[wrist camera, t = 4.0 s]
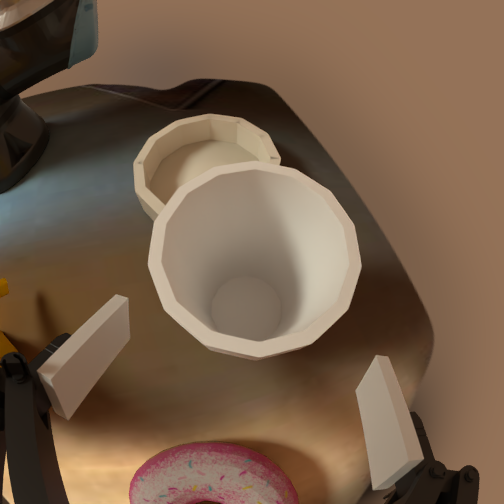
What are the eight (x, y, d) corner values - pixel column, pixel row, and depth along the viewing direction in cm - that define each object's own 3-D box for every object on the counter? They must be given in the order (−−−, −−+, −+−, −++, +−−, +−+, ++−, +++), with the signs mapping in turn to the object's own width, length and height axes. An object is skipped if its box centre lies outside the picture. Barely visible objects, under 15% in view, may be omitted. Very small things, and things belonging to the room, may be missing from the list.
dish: (140, 155, 31) (132, 132, 27) (251, 131, 33) (253, 106, 29) (152, 259, 25) (140, 239, 22) (293, 223, 28) (301, 200, 24)
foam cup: (284, 252, 26) (320, 153, 15) (313, 349, 23) (389, 317, 11) (183, 272, 25) (143, 180, 13) (202, 375, 21) (163, 375, 10)
